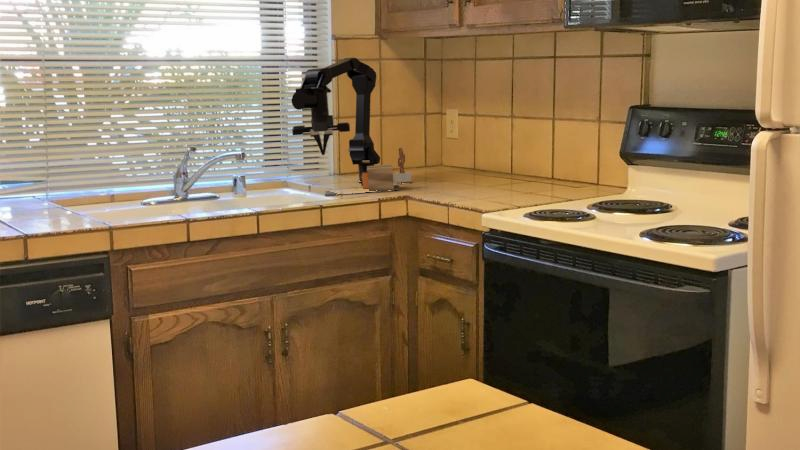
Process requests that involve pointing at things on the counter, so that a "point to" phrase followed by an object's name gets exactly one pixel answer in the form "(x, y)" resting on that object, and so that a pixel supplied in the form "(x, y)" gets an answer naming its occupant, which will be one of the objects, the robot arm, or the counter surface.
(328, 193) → the mat
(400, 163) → the brown figurine
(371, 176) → the hitch block
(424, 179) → the counter surface
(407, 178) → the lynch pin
